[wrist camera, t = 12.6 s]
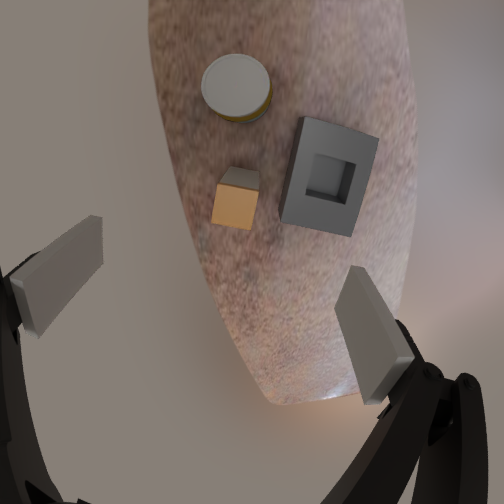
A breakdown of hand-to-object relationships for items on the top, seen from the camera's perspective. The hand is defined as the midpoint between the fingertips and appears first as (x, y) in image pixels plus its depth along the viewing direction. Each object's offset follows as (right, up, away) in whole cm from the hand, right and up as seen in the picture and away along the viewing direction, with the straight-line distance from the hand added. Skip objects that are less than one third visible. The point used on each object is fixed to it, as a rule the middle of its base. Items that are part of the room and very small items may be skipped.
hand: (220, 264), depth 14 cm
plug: (0, +11, +27) cm, 29 cm away
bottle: (+1, +22, +22) cm, 31 cm away
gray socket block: (+12, +12, +26) cm, 31 cm away
